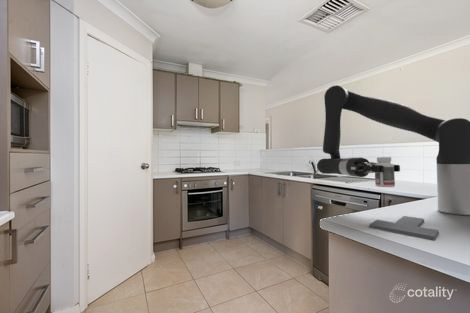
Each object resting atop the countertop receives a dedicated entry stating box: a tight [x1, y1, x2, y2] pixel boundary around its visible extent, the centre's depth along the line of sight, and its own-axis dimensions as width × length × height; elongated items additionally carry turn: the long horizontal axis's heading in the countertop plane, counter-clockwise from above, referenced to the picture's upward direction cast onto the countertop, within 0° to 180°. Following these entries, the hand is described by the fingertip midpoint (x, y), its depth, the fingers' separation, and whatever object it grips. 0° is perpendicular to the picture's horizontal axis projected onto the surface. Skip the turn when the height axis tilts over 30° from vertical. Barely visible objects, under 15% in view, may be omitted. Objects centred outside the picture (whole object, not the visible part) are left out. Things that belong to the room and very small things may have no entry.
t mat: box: [368, 215, 440, 241], centre depth 64 cm, size 18×14×1 cm
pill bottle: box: [374, 156, 396, 188], centre depth 73 cm, size 5×5×10 cm
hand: (390, 168), depth 71 cm, fingers closed on pill bottle, 5 cm apart
